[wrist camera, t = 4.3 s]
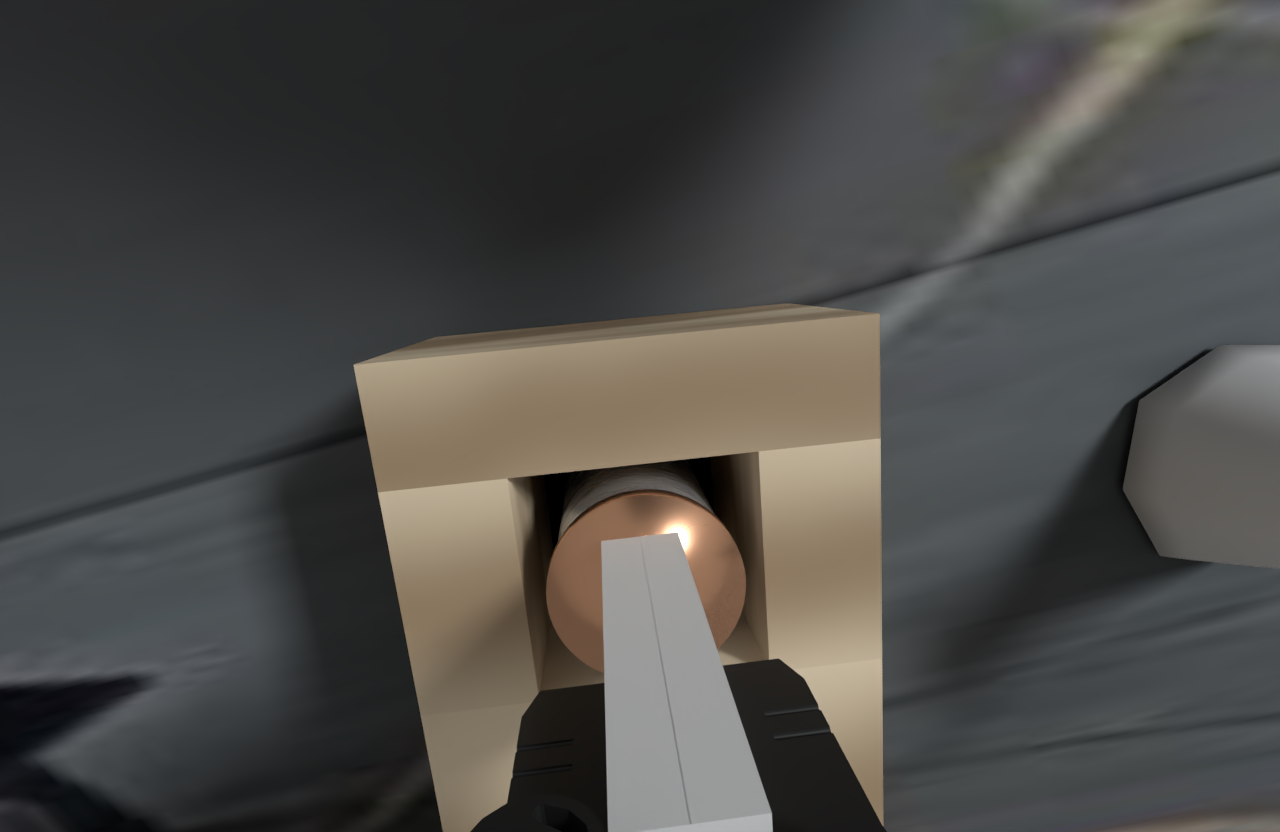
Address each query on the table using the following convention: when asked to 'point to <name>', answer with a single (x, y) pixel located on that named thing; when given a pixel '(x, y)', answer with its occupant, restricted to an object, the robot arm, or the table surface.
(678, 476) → the peg
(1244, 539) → the flask
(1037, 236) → the table surface
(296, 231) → the table surface
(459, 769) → the oak block
